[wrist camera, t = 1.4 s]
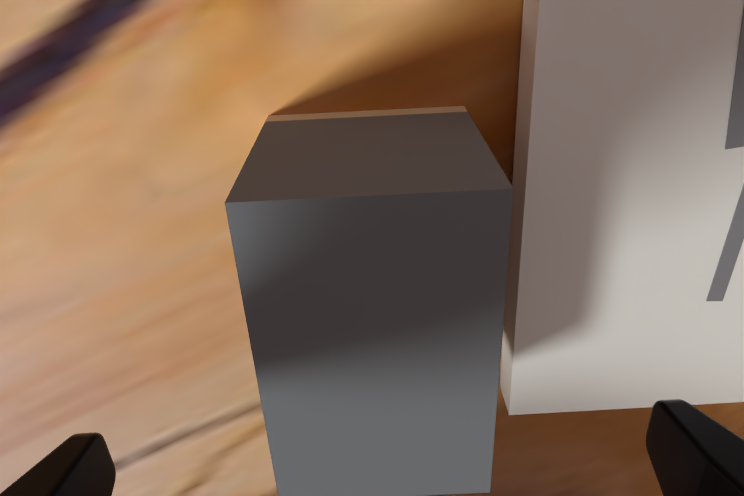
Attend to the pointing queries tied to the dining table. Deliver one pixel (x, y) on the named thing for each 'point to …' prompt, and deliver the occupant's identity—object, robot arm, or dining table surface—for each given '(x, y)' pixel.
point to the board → (626, 207)
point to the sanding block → (374, 298)
